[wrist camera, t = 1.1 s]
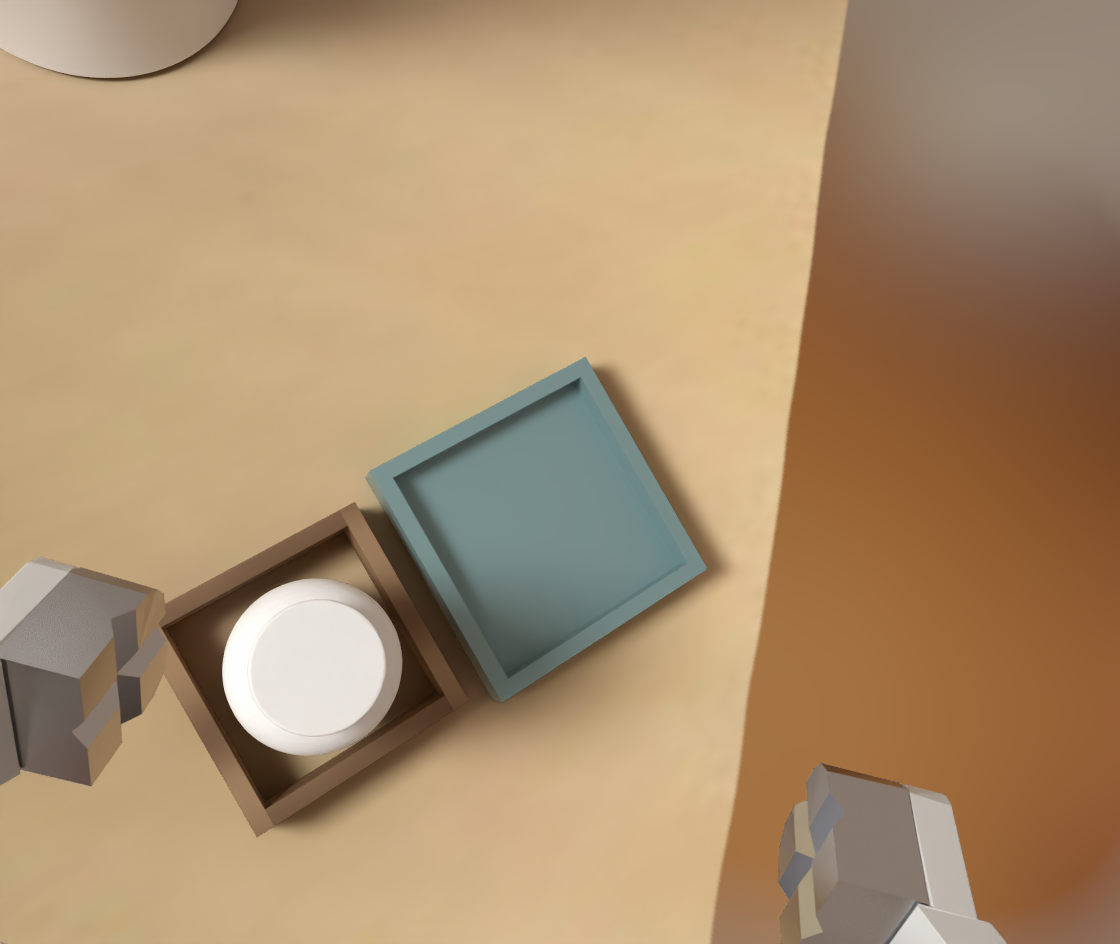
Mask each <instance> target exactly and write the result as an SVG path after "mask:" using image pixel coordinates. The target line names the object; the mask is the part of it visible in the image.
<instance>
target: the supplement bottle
mask: <svg viewBox="0 0 1120 944" xmlns="http://www.w3.org/2000/svg"><path fill="white" fill-rule="evenodd" d="M401 673H402V651H401V646H400V641H399V638H398V635H397V632H396V630H395V628H394V626H393V624H392V622H391V620H390V618H389V617H388V615H387V614H386V613H385V611H384V610H383V609H382V607H381V606H380V605H379V604H378V603H377V602H376V601H375V600H374V599H373V598H371V597H370V596H369V595H367V594H366V593H365V592H363V591H361V590H360V589H358V588H356V587H354V586H352V585H349V584H347V583H344V582H340V581H337V580H331V579H320V578H312V579H302V580H297V581H293V582H290V583H287V584H284V585H281V586H279V587H277V588H275V589H273V590H271V591H269V592H267V593H266V594H264V595H263V596H261V597H260V598H259V599H257V600H256V601H255V602H254V603H253V604H252V605H251V606H250V607H249V608H248V609H247V610H246V611H245V612H244V613H243V614H242V616H241V617H240V619H239V620H238V621H237V623H236V625H235V626H234V628H233V630H232V632H231V634H230V636H229V639H228V642H227V645H226V648H225V652H224V658H223V666H222V676H223V685H224V691H225V694H226V697H227V700H228V703H229V705H230V707H231V709H232V711H233V713H234V715H235V717H236V718H237V720H238V721H239V722H240V724H241V725H242V726H243V727H244V729H245V730H246V731H247V732H248V733H249V734H251V735H252V736H253V737H254V738H256V739H257V740H258V741H260V742H261V743H263V744H265V745H266V746H268V747H271V748H273V749H275V750H278V751H281V752H284V753H288V754H293V755H302V756H314V755H322V754H328V753H331V752H335V751H338V750H341V749H344V748H346V747H348V746H350V745H352V744H354V743H356V742H357V741H359V740H360V739H362V738H363V737H365V736H366V735H367V734H368V733H370V732H371V731H372V730H373V729H374V728H375V727H376V726H377V725H378V724H379V723H380V721H381V720H382V719H383V718H384V716H385V715H386V713H387V712H388V710H389V709H390V707H391V705H392V703H393V701H394V699H395V696H396V694H397V691H398V688H399V684H400V679H401Z"/></svg>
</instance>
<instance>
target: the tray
mask: <svg viewBox="0 0 1120 944" xmlns="http://www.w3.org/2000/svg"><path fill="white" fill-rule="evenodd" d="M366 480H367V481H368V483H369V485H370V487H371V488H372V490H373V492H374V494H375V495H376V497H377V499H378V501H379V502H380V504H381V506H382V508H383V509H384V511H385V513H386V515H387V516H388V518H389V520H390V521H391V523H392V525H393V527H394V528H395V530H396V532H397V534H398V535H399V537H400V539H401V541H402V542H403V544H404V546H405V548H406V549H407V551H408V553H409V555H410V556H411V558H412V560H413V562H414V563H415V565H416V567H417V569H418V570H419V572H420V574H421V576H422V577H423V579H424V581H425V583H426V584H427V586H428V588H429V590H430V591H431V593H432V595H433V597H434V598H435V600H436V602H437V604H438V605H439V607H440V609H441V611H442V612H443V614H444V616H445V618H446V619H447V621H448V623H449V625H450V626H451V628H452V630H453V632H454V633H455V635H456V637H457V639H458V640H459V642H460V644H461V645H462V647H463V649H464V651H465V652H466V654H467V656H468V658H469V659H470V661H471V663H472V665H473V666H474V668H475V670H476V672H477V673H478V675H479V677H480V679H481V680H482V682H483V684H484V686H485V687H486V689H487V691H488V693H489V694H490V696H491V698H492V700H493V701H497V702H502V703H503V702H504V701H506V700H507V699H509V698H510V697H512V696H513V695H515V694H516V693H518V692H520V691H521V690H523V689H524V688H526V687H527V686H529V685H530V684H532V683H533V682H535V681H536V680H538V679H539V678H541V677H543V676H544V675H546V674H547V673H549V672H550V671H552V670H553V669H555V668H556V667H558V666H559V665H561V664H562V663H564V662H565V661H567V660H569V659H570V658H572V657H573V656H575V655H576V654H578V653H579V652H581V651H582V650H584V649H585V648H587V647H588V646H590V645H592V644H593V643H595V642H596V641H598V640H599V639H601V638H602V637H604V636H605V635H607V634H608V633H610V632H611V631H613V630H614V629H616V628H618V627H619V626H621V625H622V624H624V623H625V622H627V621H628V620H630V619H631V618H633V617H634V616H636V615H637V614H639V613H641V612H642V611H644V610H645V609H647V608H648V607H650V606H651V605H653V604H654V603H656V602H657V601H659V600H660V599H662V598H664V597H665V596H667V595H668V594H670V593H671V592H673V591H674V590H676V589H677V588H679V587H680V586H682V585H683V584H685V583H686V582H688V581H690V580H691V579H693V578H694V577H696V576H697V575H699V574H700V573H702V572H703V571H705V570H706V569H707V567H706V565H705V564H704V562H703V560H702V559H701V557H700V555H699V553H698V552H697V550H696V548H695V546H694V545H693V543H692V541H691V539H690V538H689V536H688V534H687V532H686V531H685V529H684V527H683V525H682V524H681V522H680V520H679V518H678V517H677V515H676V513H675V512H674V510H673V508H672V506H671V505H670V503H669V501H668V499H667V498H666V496H665V494H664V492H663V491H662V489H661V487H660V485H659V484H658V482H657V480H656V478H655V477H654V475H653V473H652V471H651V470H650V468H649V466H648V465H647V463H646V461H645V459H644V458H643V456H642V454H641V452H640V451H639V449H638V447H637V445H636V444H635V442H634V440H633V438H632V437H631V435H630V433H629V431H628V430H627V428H626V426H625V424H624V423H623V421H622V419H621V417H620V416H619V414H618V412H617V411H616V409H615V407H614V405H613V404H612V402H611V400H610V398H609V397H608V395H607V393H606V391H605V390H604V388H603V386H602V384H601V383H600V381H599V379H598V377H597V376H596V374H595V372H594V370H593V369H592V367H591V365H590V364H589V362H588V360H587V358H586V357H584V358H583V359H581V360H579V361H577V362H575V363H573V364H571V365H569V366H567V367H566V368H564V369H562V370H560V371H558V372H556V373H554V374H552V375H550V376H548V377H547V378H545V379H543V380H541V381H539V382H537V383H535V384H533V385H531V386H530V387H528V388H526V389H524V390H522V391H520V392H518V393H516V394H514V395H513V396H511V397H509V398H507V399H505V400H503V401H501V402H499V403H497V404H495V405H494V406H492V407H490V408H488V409H486V410H484V411H482V412H480V413H478V414H477V415H475V416H473V417H471V418H469V419H467V420H465V421H463V422H461V423H460V424H458V425H456V426H454V427H452V428H450V429H448V430H446V431H444V432H442V433H441V434H439V435H437V436H435V437H433V438H431V439H429V440H427V441H425V442H424V443H422V444H420V445H418V446H416V447H414V448H412V449H410V450H408V451H407V452H405V453H403V454H401V455H399V456H397V457H395V458H393V459H391V460H390V461H388V462H386V463H384V464H382V465H380V466H378V467H376V468H374V469H372V470H371V471H369V473H368V475H367V476H366Z"/></svg>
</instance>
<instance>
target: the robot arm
mask: <svg viewBox="0 0 1120 944" xmlns="http://www.w3.org/2000/svg"><path fill="white" fill-rule="evenodd" d="M237 1H238V0H0V48H1V49H3V50H5V51H7V52H9V53H10V54H12V55H14V56H16V57H18V58H21V59H23V60H25V61H27V62H30V63H32V64H35V65H38V66H41V67H43V68H46V69H50V70H53V71H57V72H61V73H66V74H71V75H77V76H84V77H95V78H119V77H130V76H136V75H142V74H146V73H151V72H155V71H158V70H161V69H164V68H167V67H169V66H172V65H174V64H176V63H178V62H181V61H183V60H184V59H186V58H188V57H190V56H192V55H193V54H194V53H196V52H197V51H199V50H200V49H202V48H203V47H204V46H205V45H207V44H208V43H209V42H210V41H211V40H212V39H213V38H214V37H215V36H216V35H217V34H218V33H219V32H220V30H221V29H222V28H223V27H224V25H225V24H226V22H227V21H228V19H229V18H230V16H231V14H232V12H233V10H234V8H235V6H236V4H237ZM165 614H166V612H165V601H164V593H162V592H160V591H159V590H157V589H154V588H150V587H147V586H143V585H140V584H137V583H133V582H130V581H126V580H123V579H119V578H116V577H112V576H109V575H105V574H102V573H99V572H95V571H92V570H88V569H85V568H81V567H80V568H79V567H75V566H72V565H68V564H65V563H62V562H58V561H55V560H51V559H48V558H44V557H39V558H37V559H34V560H32V561H30V562H28V563H26V564H25V565H24V566H23V567H22V568H21V569H20V570H19V571H18V572H17V573H16V574H15V575H14V576H13V577H12V578H11V579H10V580H9V581H8V582H7V583H6V584H5V585H4V586H3V587H2V588H1V589H0V786H1V785H2V784H4V783H6V782H7V781H9V780H11V779H12V778H14V777H16V776H17V775H19V774H20V770H25V771H29V772H33V773H37V774H42V775H46V776H50V777H54V778H58V779H63V780H67V781H71V782H75V783H79V784H84V785H88V786H92V785H93V783H94V782H95V780H96V779H97V778H98V776H99V775H100V773H101V772H102V770H103V769H104V768H105V766H106V765H107V763H108V762H109V761H110V759H111V758H112V756H113V755H114V753H115V752H116V751H117V749H118V748H119V746H120V745H121V743H122V733H121V724H123V723H125V722H127V721H129V720H131V719H133V718H135V717H137V716H139V715H141V714H142V713H143V712H144V710H145V709H146V707H147V706H148V704H149V703H150V701H151V700H152V698H153V697H154V695H155V692H156V690H157V688H158V685H159V683H160V680H161V678H162V676H163V673H164V668H165V663H166V657H167V640H166V639H165V638H164V636H163V635H162V634H161V632H160V631H159V630H158V628H157V627H156V626H157V625H158V623H159V622H160V621H161V619H162V618H163V617H164V615H165ZM806 788H807V800H805V801H803V802H801V803H799V804H797V805H794V806H793V808H792V810H791V812H790V814H789V816H788V818H787V821H786V823H785V825H784V829H783V834H782V837H781V842H780V846H779V856H778V883H779V885H780V886H781V888H782V889H783V891H784V893H785V894H786V896H787V897H788V899H789V902H788V904H787V905H786V907H785V909H784V911H783V913H782V914H781V916H780V935H781V944H1007V943H1006V942H1005V941H1004V939H1003V938H1002V937H1001V936H1000V934H999V933H998V932H997V931H996V930H995V928H994V927H993V926H992V924H991V923H988V922H985V921H981V920H978V918H977V913H976V909H975V905H974V900H973V896H972V892H971V888H970V883H969V879H968V875H967V871H966V867H965V862H964V858H963V853H962V849H961V845H960V841H959V836H958V832H957V827H956V823H955V819H954V815H953V810H952V806H951V803H950V801H949V800H948V798H947V797H946V795H944V794H940V793H937V792H932V791H929V790H925V789H921V788H917V787H913V786H909V785H905V784H900V783H898V782H894V781H890V780H886V779H882V778H878V777H874V776H870V775H866V774H862V773H858V772H854V771H850V770H846V769H842V768H838V767H834V766H831V765H826V764H823V763H820V764H819V765H818V766H817V767H815V768H814V769H813V771H812V773H811V775H810V777H809V778H808V780H807V782H806ZM0 944H6V943H2V942H0Z"/></svg>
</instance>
